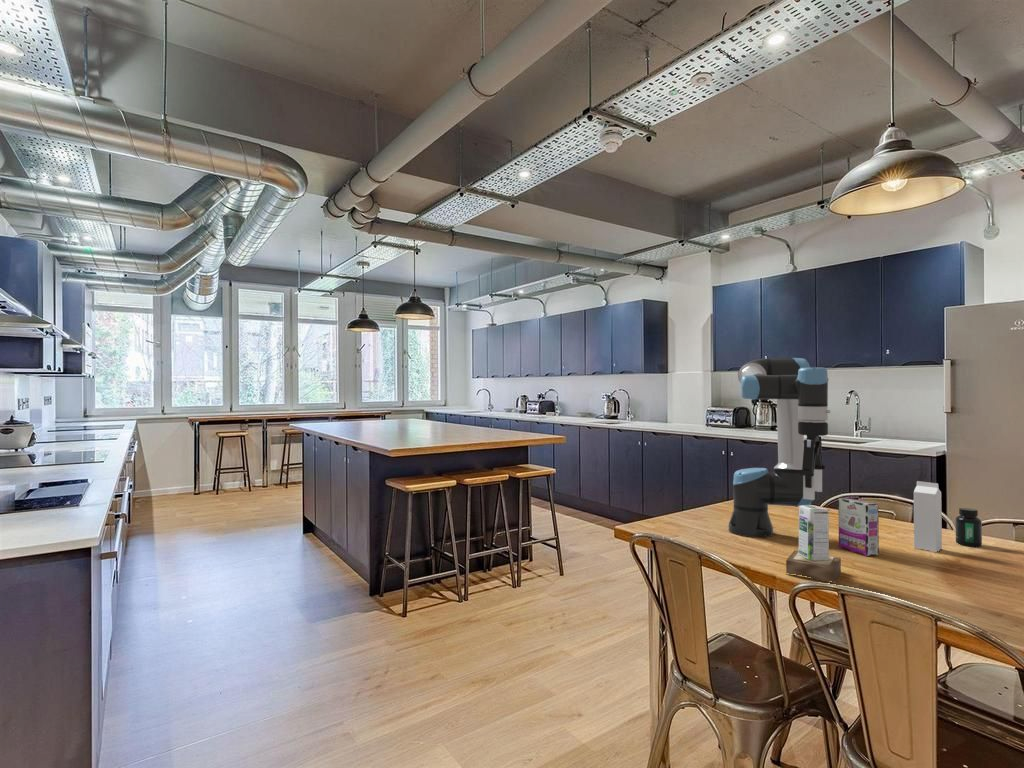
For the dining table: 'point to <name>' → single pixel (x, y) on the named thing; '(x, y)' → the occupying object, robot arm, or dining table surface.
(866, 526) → the candy bar box
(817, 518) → the syrup box
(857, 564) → the dining table surface
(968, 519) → the supplement bottle
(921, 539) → the milk
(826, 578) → the plinth
